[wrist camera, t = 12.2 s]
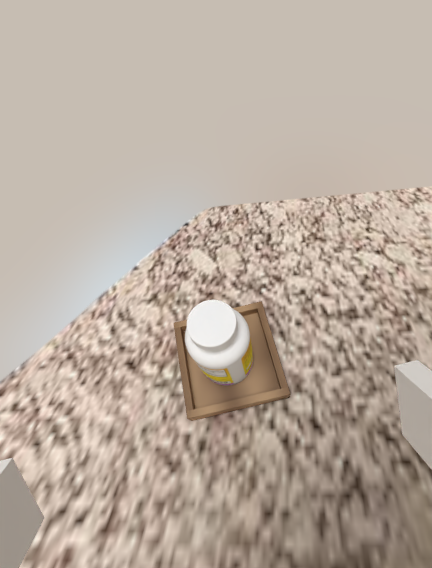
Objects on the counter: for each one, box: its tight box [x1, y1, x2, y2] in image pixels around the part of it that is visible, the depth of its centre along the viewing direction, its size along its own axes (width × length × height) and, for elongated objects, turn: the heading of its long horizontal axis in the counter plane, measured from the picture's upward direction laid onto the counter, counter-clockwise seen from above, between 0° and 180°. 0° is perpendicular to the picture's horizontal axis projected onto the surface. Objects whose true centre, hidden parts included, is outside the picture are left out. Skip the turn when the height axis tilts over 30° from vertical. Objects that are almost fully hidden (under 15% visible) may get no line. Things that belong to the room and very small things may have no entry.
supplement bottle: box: [185, 300, 253, 385], centre depth 34 cm, size 7×7×13 cm
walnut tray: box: [174, 301, 290, 421], centre depth 40 cm, size 12×12×2 cm
